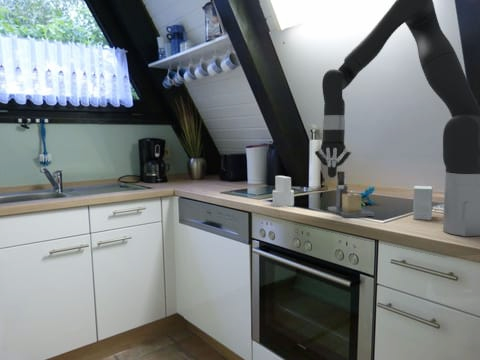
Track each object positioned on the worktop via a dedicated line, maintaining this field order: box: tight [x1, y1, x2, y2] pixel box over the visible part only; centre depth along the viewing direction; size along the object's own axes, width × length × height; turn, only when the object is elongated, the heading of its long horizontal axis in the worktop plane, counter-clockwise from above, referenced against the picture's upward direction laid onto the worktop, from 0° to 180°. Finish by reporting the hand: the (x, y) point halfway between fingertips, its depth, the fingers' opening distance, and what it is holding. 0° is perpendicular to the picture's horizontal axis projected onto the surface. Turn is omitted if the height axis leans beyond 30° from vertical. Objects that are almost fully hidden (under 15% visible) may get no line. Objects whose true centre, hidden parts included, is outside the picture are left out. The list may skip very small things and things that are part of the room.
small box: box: [412, 185, 433, 221], centre depth 121 cm, size 8×6×10 cm
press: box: [327, 185, 375, 219], centre depth 132 cm, size 16×11×9 cm
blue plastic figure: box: [359, 186, 376, 207], centre depth 148 cm, size 11×6×10 cm
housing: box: [342, 190, 362, 212], centre depth 130 cm, size 5×5×7 cm
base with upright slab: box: [272, 175, 295, 207], centre depth 151 cm, size 9×9×12 cm
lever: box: [336, 170, 347, 189], centre depth 132 cm, size 15×3×6 cm, turn 162°
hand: (332, 177), depth 128 cm, fingers closed
